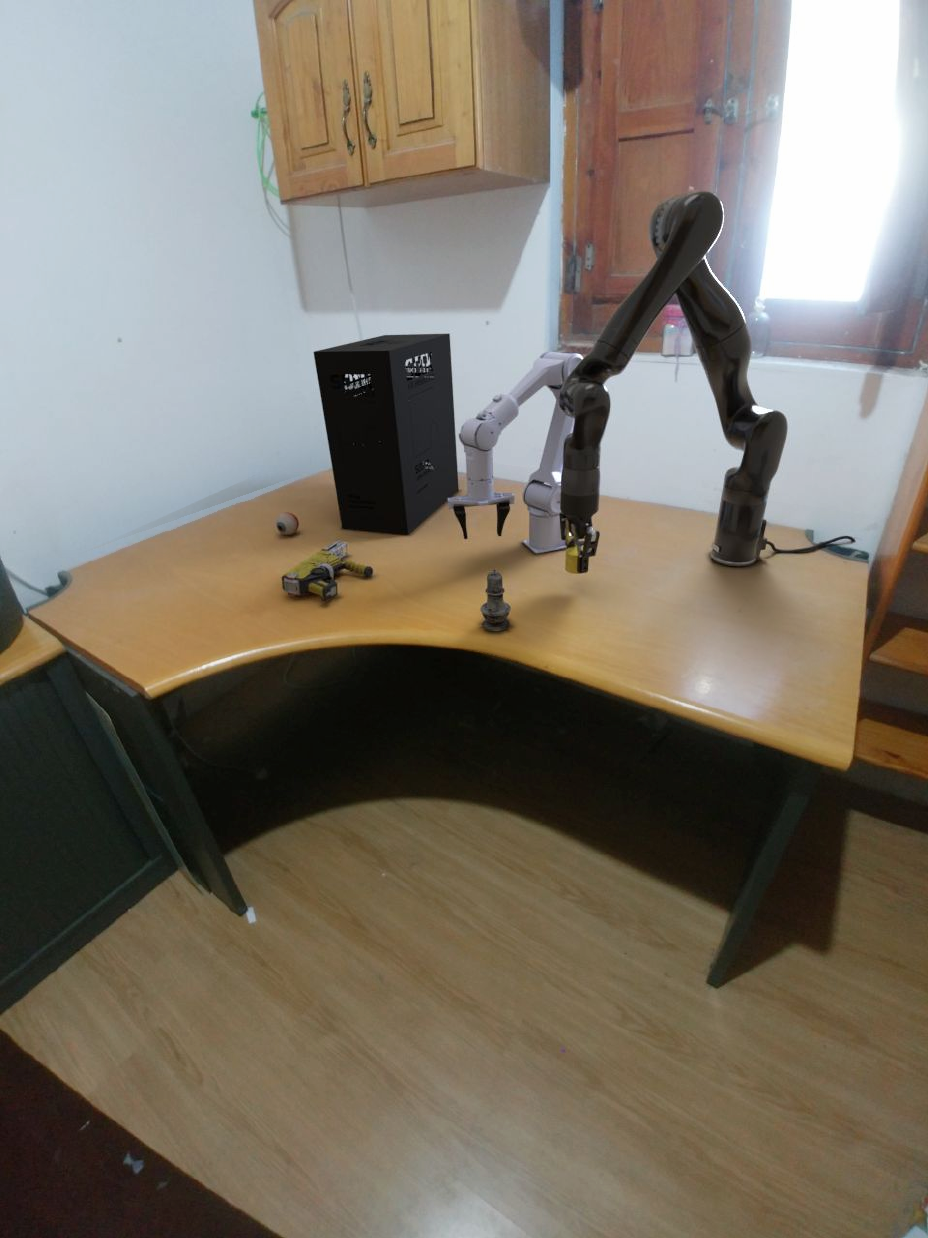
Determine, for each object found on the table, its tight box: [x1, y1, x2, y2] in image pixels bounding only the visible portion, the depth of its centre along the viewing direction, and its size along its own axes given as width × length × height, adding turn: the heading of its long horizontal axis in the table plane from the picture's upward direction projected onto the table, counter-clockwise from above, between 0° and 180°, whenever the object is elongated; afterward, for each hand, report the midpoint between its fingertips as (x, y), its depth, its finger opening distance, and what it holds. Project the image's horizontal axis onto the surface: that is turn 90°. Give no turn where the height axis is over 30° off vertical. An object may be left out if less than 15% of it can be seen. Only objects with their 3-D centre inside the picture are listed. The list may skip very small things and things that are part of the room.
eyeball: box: [275, 511, 300, 536], centre depth 163 cm, size 6×6×6 cm
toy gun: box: [281, 539, 374, 603], centre depth 138 cm, size 5×24×15 cm
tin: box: [564, 546, 583, 575], centre depth 125 cm, size 5×5×4 cm
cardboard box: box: [313, 333, 460, 535], centre depth 167 cm, size 38×20×45 cm, turn 159°
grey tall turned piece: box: [479, 568, 512, 632], centre depth 114 cm, size 6×6×12 cm
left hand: (482, 536), depth 136 cm, fingers open, 7 cm apart
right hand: (576, 566), depth 126 cm, fingers closed on tin, 4 cm apart
